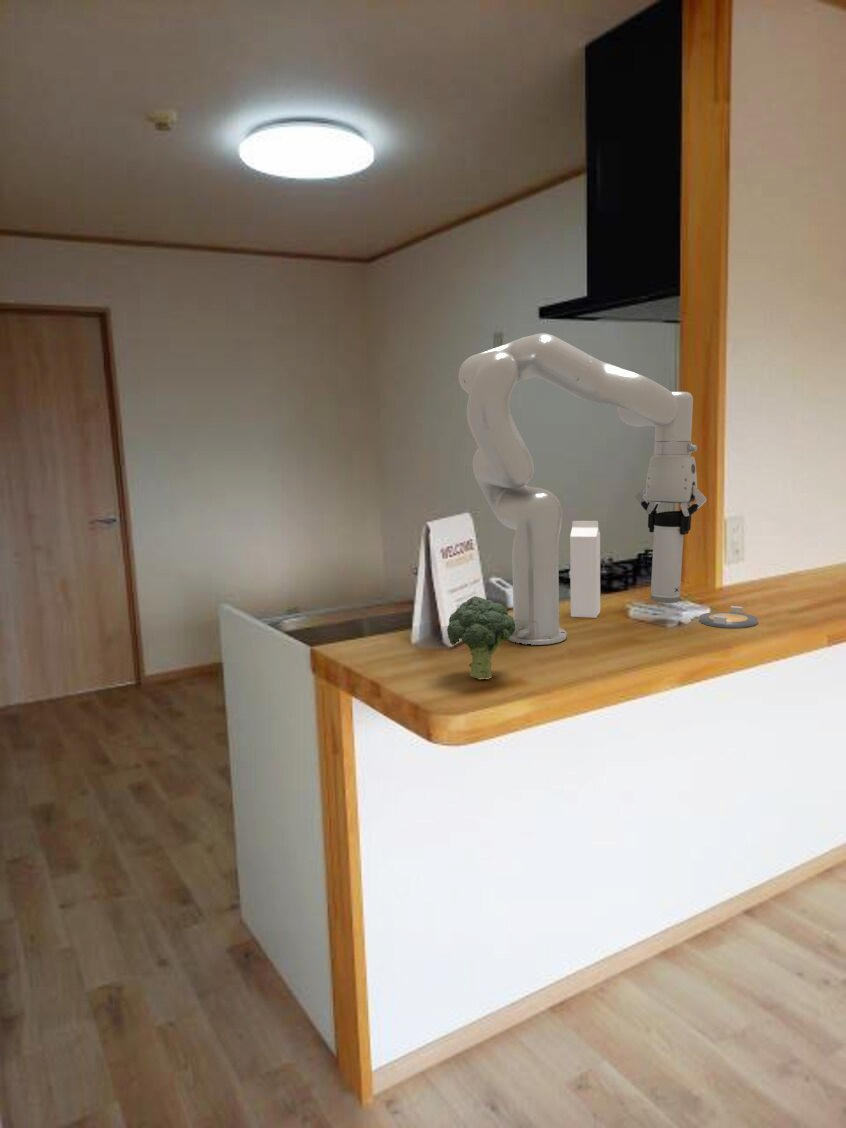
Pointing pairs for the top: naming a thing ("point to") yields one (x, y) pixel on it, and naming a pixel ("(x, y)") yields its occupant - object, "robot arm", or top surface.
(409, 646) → the top surface
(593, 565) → the milk
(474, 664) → the vegetable
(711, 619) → the base
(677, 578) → the travel mug
